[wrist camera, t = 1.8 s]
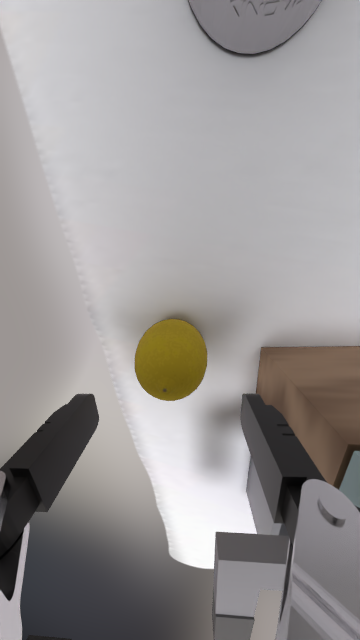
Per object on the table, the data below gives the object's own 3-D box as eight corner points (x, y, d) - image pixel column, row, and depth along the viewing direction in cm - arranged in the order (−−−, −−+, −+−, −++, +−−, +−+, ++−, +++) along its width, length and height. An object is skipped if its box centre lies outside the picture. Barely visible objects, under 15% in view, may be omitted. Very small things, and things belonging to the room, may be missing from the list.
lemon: (165, 298, 16) (144, 327, 8) (213, 327, 17) (234, 378, 9) (139, 342, 18) (102, 401, 10) (184, 367, 18) (181, 440, 11)
